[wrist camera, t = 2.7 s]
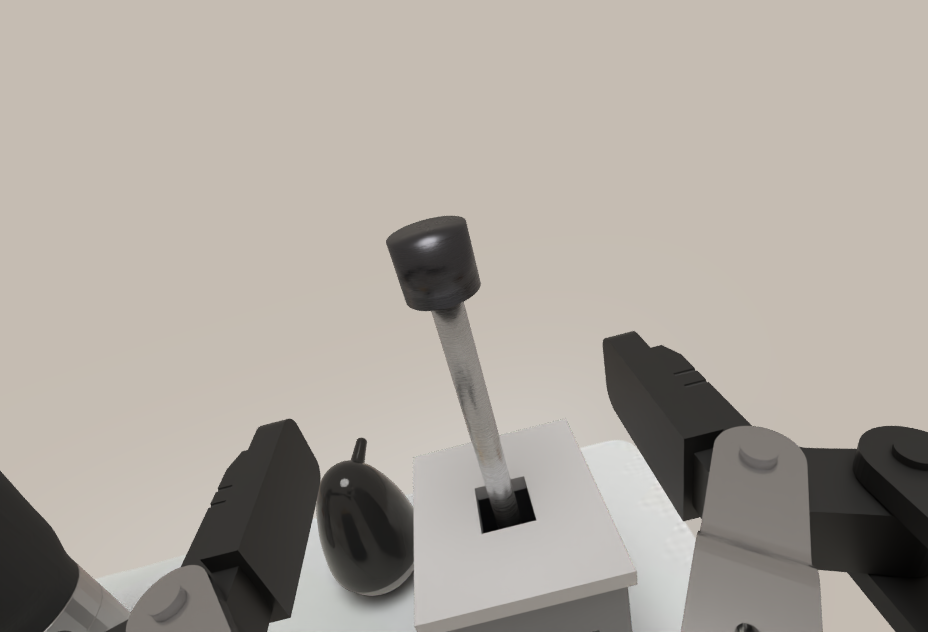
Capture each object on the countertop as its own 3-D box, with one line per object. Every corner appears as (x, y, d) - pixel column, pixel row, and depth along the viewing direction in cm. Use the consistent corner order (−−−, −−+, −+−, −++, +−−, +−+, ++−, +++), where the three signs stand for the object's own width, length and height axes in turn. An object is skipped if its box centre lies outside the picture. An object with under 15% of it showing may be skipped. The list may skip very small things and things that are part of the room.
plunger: (486, 661, 30) (328, 288, 16) (472, 554, 36) (352, 227, 23) (598, 634, 29) (530, 235, 16) (563, 531, 36) (495, 190, 23)
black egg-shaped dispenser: (441, 521, 53) (403, 427, 46) (418, 616, 44) (367, 518, 37) (363, 520, 56) (316, 432, 48) (328, 609, 47) (264, 517, 40)
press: (494, 774, 33) (414, 626, 23) (471, 586, 45) (412, 436, 35) (649, 737, 33) (636, 571, 23) (584, 558, 45) (557, 399, 35)
